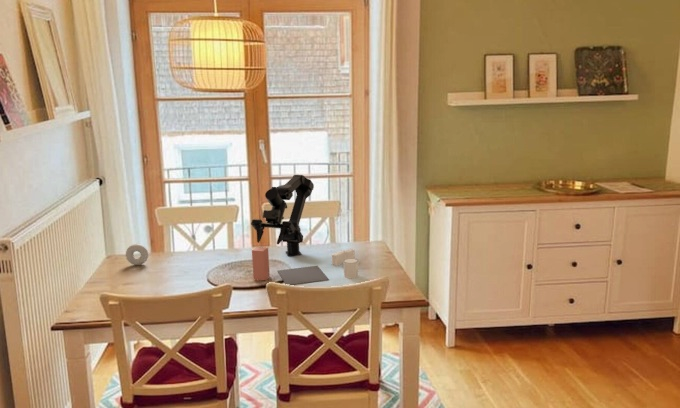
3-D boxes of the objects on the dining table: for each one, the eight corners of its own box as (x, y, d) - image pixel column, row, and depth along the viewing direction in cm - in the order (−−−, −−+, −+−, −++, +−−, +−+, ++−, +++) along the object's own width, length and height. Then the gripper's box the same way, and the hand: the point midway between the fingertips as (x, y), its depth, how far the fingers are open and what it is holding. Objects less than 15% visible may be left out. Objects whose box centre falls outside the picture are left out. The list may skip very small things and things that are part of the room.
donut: (150, 263, 268) (148, 242, 266) (148, 265, 265) (146, 244, 262) (127, 264, 267) (125, 243, 265) (125, 266, 264) (123, 245, 261)
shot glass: (345, 280, 242) (345, 264, 240) (341, 274, 248) (340, 258, 247) (361, 278, 244) (361, 262, 242) (356, 272, 250) (356, 257, 249)
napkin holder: (330, 268, 257) (330, 256, 256) (326, 260, 268) (326, 248, 266) (363, 266, 259) (363, 254, 258) (358, 258, 270) (358, 246, 269)
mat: (277, 271, 254) (277, 270, 254) (317, 266, 259) (317, 265, 259) (286, 285, 237) (286, 284, 237) (329, 280, 242) (328, 279, 242)
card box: (259, 275, 249) (257, 246, 246) (269, 276, 247) (268, 247, 244) (253, 279, 244) (251, 250, 241) (264, 281, 243) (262, 251, 240)
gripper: (251, 201, 253) (240, 232, 246) (291, 203, 247) (281, 235, 240) (260, 214, 262) (250, 244, 255) (299, 216, 256) (290, 248, 249)
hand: (267, 243), depth 249 cm, fingers open, 9 cm apart
